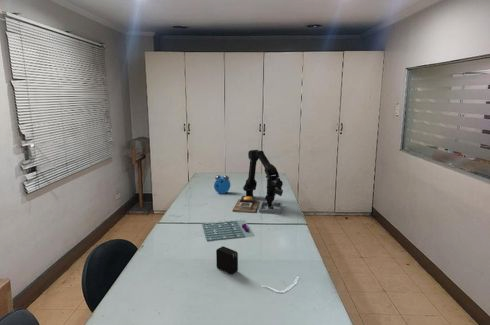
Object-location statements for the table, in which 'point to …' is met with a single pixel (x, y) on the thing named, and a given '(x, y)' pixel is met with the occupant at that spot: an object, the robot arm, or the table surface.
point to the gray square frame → (270, 209)
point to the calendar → (227, 230)
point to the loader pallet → (246, 205)
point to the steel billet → (271, 205)
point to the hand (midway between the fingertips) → (270, 205)
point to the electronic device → (227, 260)
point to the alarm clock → (222, 184)
